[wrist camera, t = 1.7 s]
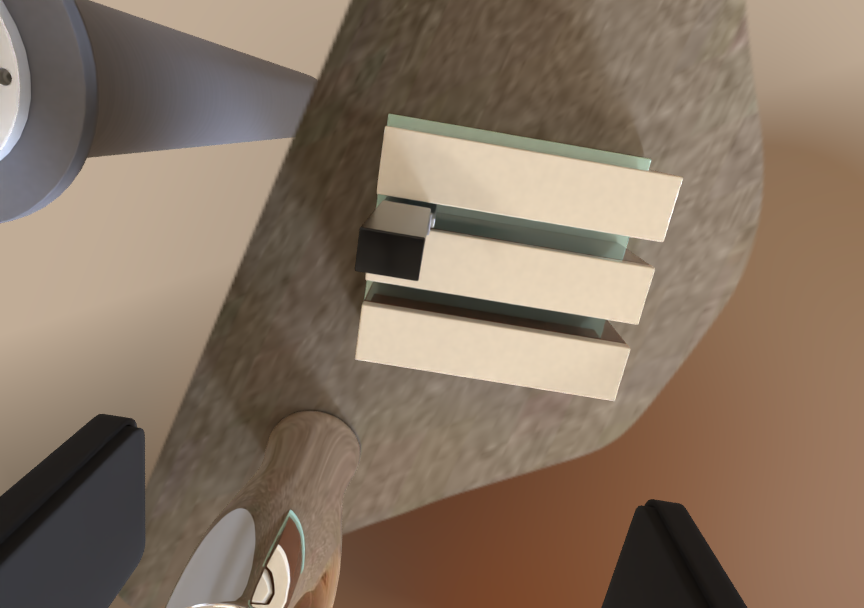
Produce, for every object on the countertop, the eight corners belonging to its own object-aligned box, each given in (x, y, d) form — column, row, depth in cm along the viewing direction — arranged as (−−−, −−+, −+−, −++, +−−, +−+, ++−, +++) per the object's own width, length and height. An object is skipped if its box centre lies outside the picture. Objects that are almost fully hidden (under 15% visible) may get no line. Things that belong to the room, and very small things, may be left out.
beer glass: (291, 384, 34) (180, 572, 20) (386, 436, 35) (346, 649, 21) (244, 464, 36) (113, 687, 22) (336, 511, 37) (268, 752, 23)
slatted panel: (362, 321, 33) (343, 367, 27) (389, 113, 29) (374, 111, 23) (590, 358, 33) (622, 412, 27) (646, 158, 29) (698, 167, 23)
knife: (390, 205, 30) (346, 270, 17) (393, 179, 29) (351, 225, 16) (435, 213, 30) (426, 283, 17) (439, 187, 29) (433, 239, 16)
